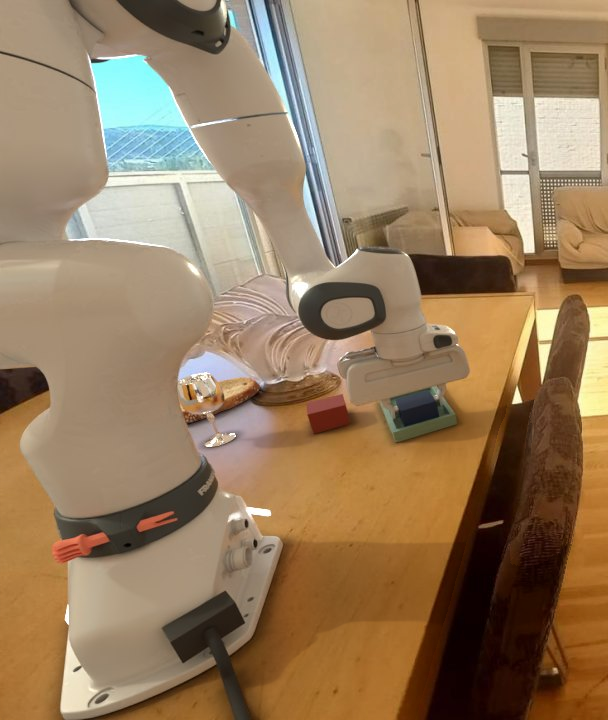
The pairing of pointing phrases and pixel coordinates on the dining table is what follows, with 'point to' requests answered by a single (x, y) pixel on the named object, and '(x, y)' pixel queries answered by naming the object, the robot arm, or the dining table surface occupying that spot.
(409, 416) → the pad
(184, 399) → the wineglass
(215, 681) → the dining table surface
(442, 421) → the tray
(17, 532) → the dining table surface
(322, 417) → the red block
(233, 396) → the slice of bread
